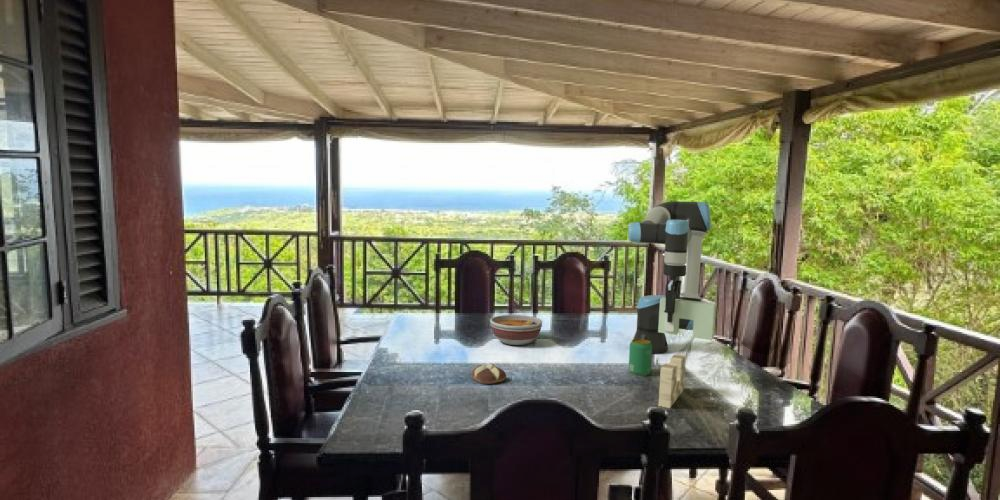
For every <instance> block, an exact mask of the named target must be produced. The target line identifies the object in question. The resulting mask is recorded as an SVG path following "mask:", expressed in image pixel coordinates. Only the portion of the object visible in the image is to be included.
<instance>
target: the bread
mask: <svg viewBox="0 0 1000 500" xmlns="http://www.w3.org/2000/svg"><path fill="white" fill-rule="evenodd" d="M506 378H507V374H506V372H505V371H504V369H502V368H500V367H498V366H497V365H495V364H494V363H489V364H487V365H484V364H480V365H478V366H476V367H475V368H474V369H473V370H472V372H471V379H472V380H474V381H476V382H477V383H480V384H481V385H491V384H493V385H494V384H498V383H501V382H503V381H505V380H506Z"/></svg>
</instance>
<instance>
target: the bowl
mask: <svg viewBox="0 0 1000 500" xmlns="http://www.w3.org/2000/svg"><path fill="white" fill-rule="evenodd" d="M489 322H490V328H491V331H492V333H493V335H494V336H495V338H497V340H499V341H500V342H501V343H502V344H505V345H509V346H510V345H511V346H525V345H528V344H530V343H532V342H533V341H534V340H535V339H536V338H537V337H538V336H539V334H540V333H541V330H542V327H543V320H542V319H540V318H538V317H536V316H532V315H531V316H530V315H523V314H503V315H496V316H493V317H491V318H489Z"/></svg>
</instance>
